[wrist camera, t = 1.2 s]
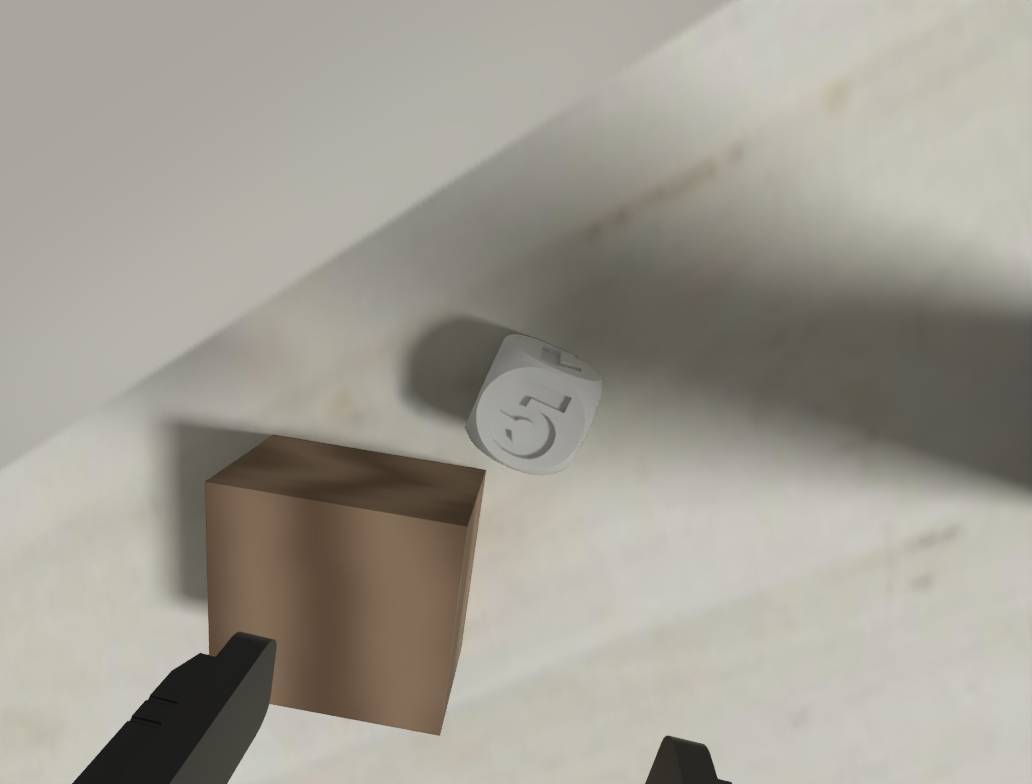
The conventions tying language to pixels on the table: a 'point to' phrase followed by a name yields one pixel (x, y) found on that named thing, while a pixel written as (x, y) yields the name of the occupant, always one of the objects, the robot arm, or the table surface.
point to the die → (534, 406)
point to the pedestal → (345, 575)
